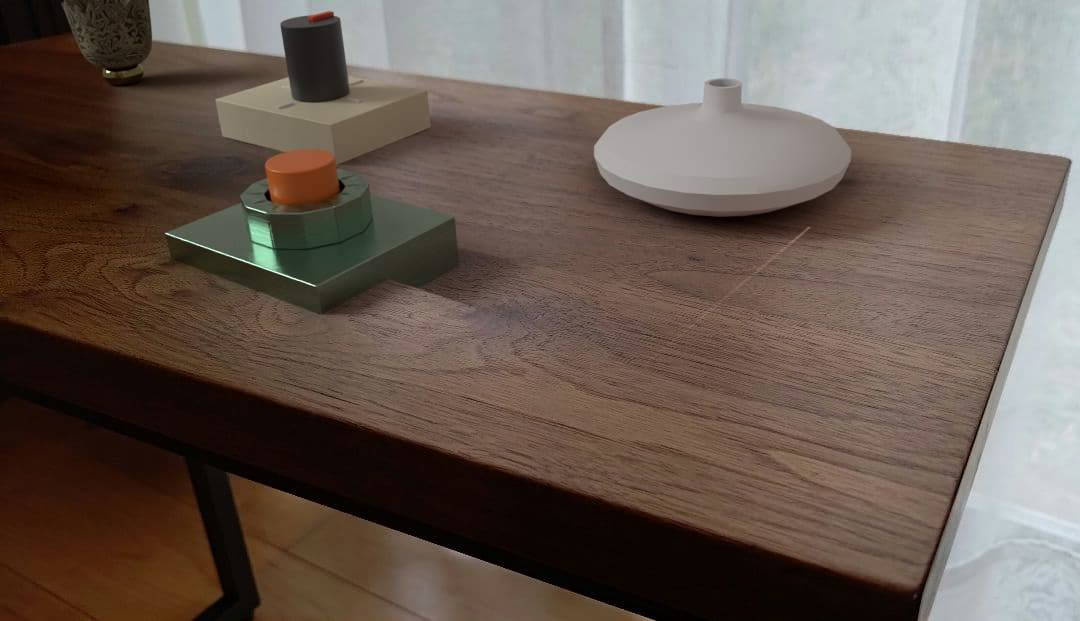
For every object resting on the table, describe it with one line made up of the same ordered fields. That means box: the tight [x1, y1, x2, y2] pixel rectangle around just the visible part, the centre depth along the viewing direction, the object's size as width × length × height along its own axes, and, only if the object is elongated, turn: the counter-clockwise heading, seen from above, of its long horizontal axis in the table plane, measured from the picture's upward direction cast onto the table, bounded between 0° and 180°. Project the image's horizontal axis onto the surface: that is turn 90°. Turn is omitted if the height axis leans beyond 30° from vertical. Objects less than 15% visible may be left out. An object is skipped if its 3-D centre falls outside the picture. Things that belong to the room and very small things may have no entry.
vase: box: [593, 77, 852, 218], centre depth 62 cm, size 16×16×7 cm
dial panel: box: [215, 75, 432, 166], centre depth 77 cm, size 13×10×3 cm
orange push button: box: [264, 149, 340, 205], centre depth 52 cm, size 4×4×2 cm
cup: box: [61, 0, 153, 86], centre depth 92 cm, size 8×7×8 cm
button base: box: [164, 168, 460, 315], centre depth 54 cm, size 12×10×5 cm
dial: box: [279, 10, 350, 102], centre depth 75 cm, size 4×4×6 cm
